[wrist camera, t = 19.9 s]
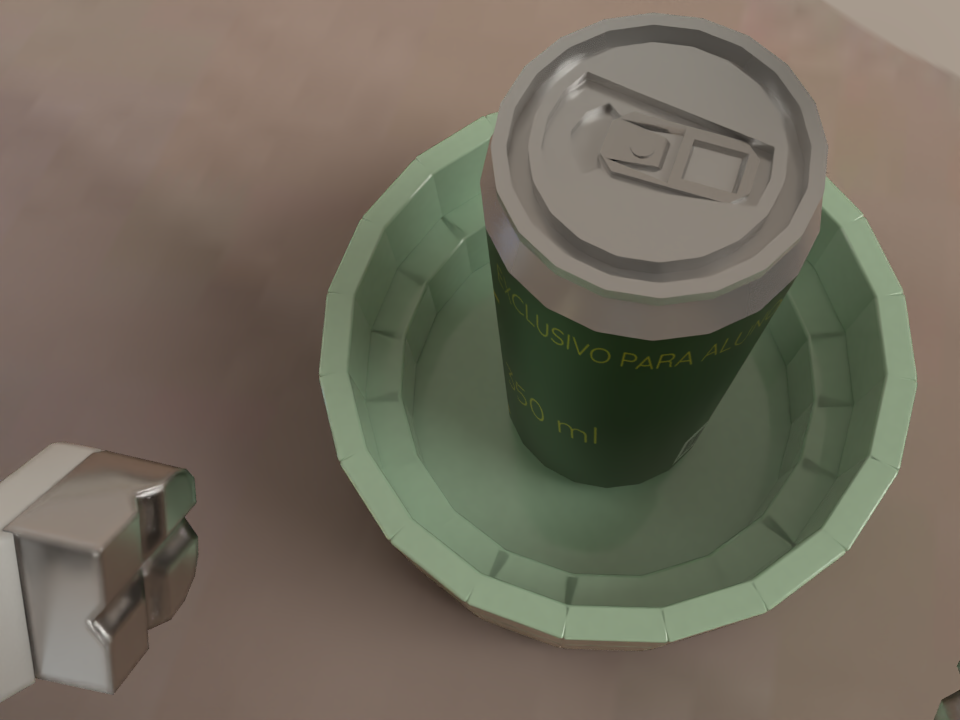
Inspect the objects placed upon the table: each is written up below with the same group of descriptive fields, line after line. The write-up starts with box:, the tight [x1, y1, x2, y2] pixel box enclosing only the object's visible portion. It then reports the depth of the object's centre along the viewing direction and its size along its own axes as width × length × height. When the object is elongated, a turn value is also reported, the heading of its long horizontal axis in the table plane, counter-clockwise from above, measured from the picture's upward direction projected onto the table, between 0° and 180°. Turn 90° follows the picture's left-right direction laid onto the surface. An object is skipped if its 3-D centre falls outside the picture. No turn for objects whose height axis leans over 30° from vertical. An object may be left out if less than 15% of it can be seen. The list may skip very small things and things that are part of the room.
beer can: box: [480, 13, 828, 488], centre depth 19 cm, size 5×5×12 cm
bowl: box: [319, 112, 917, 651], centre depth 22 cm, size 13×13×5 cm
